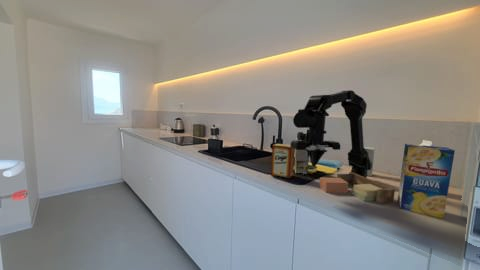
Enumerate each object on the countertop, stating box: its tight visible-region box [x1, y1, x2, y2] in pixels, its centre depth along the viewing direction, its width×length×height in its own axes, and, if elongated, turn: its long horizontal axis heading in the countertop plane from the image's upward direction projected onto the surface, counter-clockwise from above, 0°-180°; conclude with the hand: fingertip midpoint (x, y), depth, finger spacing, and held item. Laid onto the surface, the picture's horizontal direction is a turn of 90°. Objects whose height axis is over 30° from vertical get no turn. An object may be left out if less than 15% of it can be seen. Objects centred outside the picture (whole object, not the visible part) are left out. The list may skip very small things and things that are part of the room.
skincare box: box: [364, 146, 375, 177], centre depth 106 cm, size 8×6×15 cm
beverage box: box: [396, 143, 456, 219], centre depth 66 cm, size 7×11×22 cm, turn 57°
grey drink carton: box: [294, 149, 310, 175], centre depth 105 cm, size 9×6×16 cm
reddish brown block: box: [319, 177, 349, 194], centre depth 82 cm, size 9×6×4 cm, turn 91°
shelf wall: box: [348, 171, 396, 204], centre depth 81 cm, size 6×21×5 cm, turn 11°
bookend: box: [336, 173, 354, 186], centre depth 90 cm, size 8×5×5 cm, turn 101°
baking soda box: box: [270, 143, 296, 179], centre depth 98 cm, size 10×6×16 cm
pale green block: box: [350, 184, 382, 202], centre depth 76 cm, size 9×7×4 cm
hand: (313, 166), depth 78 cm, fingers closed
